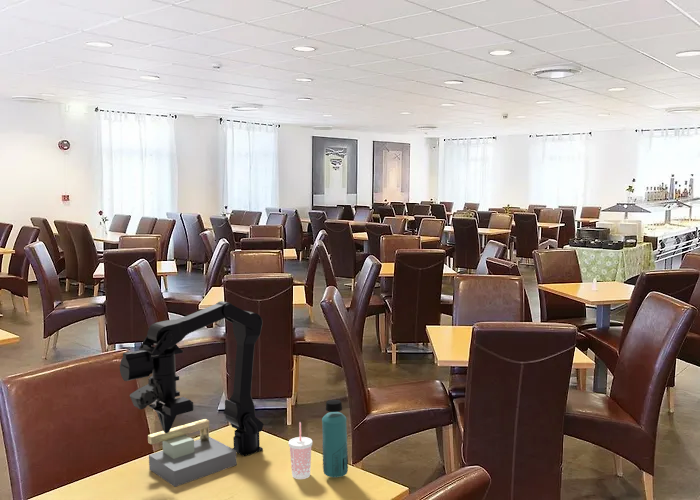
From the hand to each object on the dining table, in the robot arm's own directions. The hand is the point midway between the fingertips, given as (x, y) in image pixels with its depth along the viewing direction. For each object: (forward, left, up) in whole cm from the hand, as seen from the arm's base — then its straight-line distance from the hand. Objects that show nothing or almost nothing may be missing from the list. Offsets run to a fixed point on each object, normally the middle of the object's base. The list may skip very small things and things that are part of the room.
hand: (166, 432), depth 162 cm
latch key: (-7, -6, -8) cm, 11 cm away
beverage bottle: (-30, +31, -12) cm, 45 cm away
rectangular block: (-5, -4, -8) cm, 10 cm away
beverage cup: (-25, +23, -12) cm, 36 cm away
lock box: (-7, -1, -12) cm, 14 cm away
